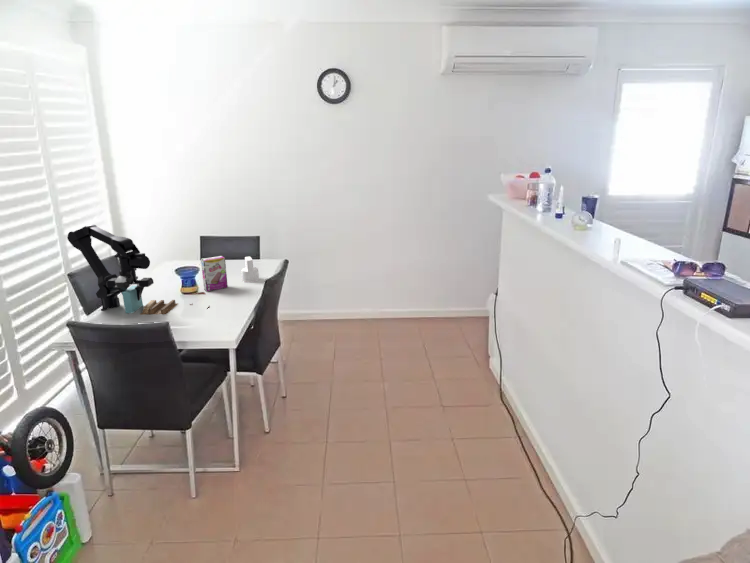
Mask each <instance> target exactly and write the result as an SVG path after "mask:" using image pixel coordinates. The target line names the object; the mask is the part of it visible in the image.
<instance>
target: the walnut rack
mask: <svg viewBox="0 0 750 563" xmlns="http://www.w3.org/2000/svg"><path fill="white" fill-rule="evenodd" d="M156 303H157V304H156V305H154V306H153V307H152V308H150V309H149V313H143V311H141V312H140V313H139V315H140V316H141V315H147V316H148V315H167V314H169V312H171V311H173V309H174V308H175V307H177V306H178V305H179V304H180V303H176V300H175V299H171V301H169V302H168V303H165V300H164V299H161V300H159V301H158V302H156Z"/></svg>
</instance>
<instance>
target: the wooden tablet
mask: <svg viewBox="0 0 750 563" xmlns="http://www.w3.org/2000/svg"><path fill="white" fill-rule="evenodd" d="M188 295H189V296H190V295H193V296H194V295H195V296H196V295H199V296H200V295H206V291H205V292H204V291H200V292H195V293H190V294H188ZM193 305H194V304H193V302H192V303H189V306H193ZM208 308H209V309H210V308H211V306H210V305H208V307H206V310H208Z"/></svg>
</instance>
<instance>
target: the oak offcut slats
mask: <svg viewBox="0 0 750 563" xmlns="http://www.w3.org/2000/svg"><path fill="white" fill-rule="evenodd" d="M157 303H158V302H157V300H155V299H152V300H150V301H148V303H146V304H145V305H143V309H142V311H141V312H143V313H149V309H150V308H152V307H153V306H154V305H156V304H157Z"/></svg>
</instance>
